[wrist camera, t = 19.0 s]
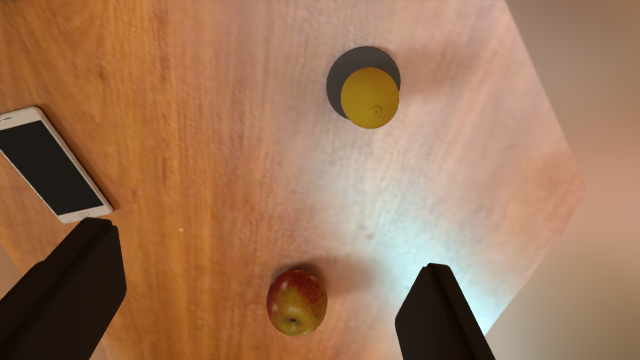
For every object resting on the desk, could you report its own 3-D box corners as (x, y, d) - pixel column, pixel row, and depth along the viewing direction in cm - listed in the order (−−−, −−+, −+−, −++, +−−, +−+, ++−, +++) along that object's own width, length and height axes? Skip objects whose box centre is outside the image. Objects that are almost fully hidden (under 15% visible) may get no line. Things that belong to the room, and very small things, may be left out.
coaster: (336, 38, 33) (337, 39, 32) (410, 56, 34) (411, 57, 33) (319, 112, 37) (319, 113, 36) (385, 126, 38) (386, 128, 37)
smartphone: (62, 224, 43) (-27, 122, 35) (65, 221, 43) (-22, 119, 36) (113, 213, 42) (34, 106, 34) (116, 210, 43) (38, 103, 35)
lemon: (387, 55, 33) (408, 75, 26) (389, 106, 36) (408, 136, 29) (334, 64, 33) (341, 86, 27) (340, 114, 36) (348, 145, 30)
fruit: (263, 262, 49) (256, 308, 42) (322, 256, 49) (324, 300, 42) (275, 302, 54) (270, 349, 47) (329, 297, 54) (332, 343, 47)
